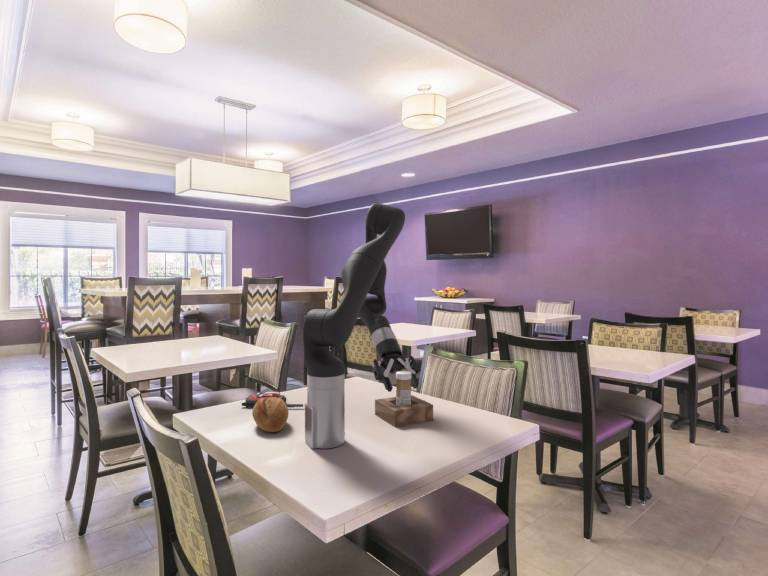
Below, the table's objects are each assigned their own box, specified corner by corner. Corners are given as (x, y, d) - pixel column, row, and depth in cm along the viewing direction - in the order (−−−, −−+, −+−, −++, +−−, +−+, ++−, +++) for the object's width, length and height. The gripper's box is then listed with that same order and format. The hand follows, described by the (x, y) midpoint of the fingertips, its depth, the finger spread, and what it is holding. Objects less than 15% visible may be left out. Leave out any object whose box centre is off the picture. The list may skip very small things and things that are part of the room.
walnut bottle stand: (394, 426, 123) (394, 410, 123) (375, 414, 134) (374, 399, 134) (433, 420, 128) (433, 404, 128) (411, 409, 140) (411, 394, 139)
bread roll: (254, 438, 114) (254, 407, 114) (250, 421, 128) (250, 393, 128) (292, 433, 118) (292, 403, 118) (284, 417, 132) (284, 390, 132)
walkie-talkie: (238, 410, 139) (302, 411, 139) (238, 396, 139) (302, 396, 139) (247, 403, 148) (307, 403, 148) (247, 389, 148) (307, 390, 148)
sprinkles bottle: (395, 415, 133) (395, 370, 133) (410, 414, 134) (410, 370, 134) (396, 419, 129) (396, 373, 129) (412, 419, 129) (412, 373, 129)
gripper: (369, 338, 135) (386, 384, 125) (409, 336, 142) (429, 379, 132) (362, 353, 140) (378, 398, 130) (401, 350, 147) (419, 392, 137)
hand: (403, 388), depth 131 cm, fingers open, 8 cm apart
